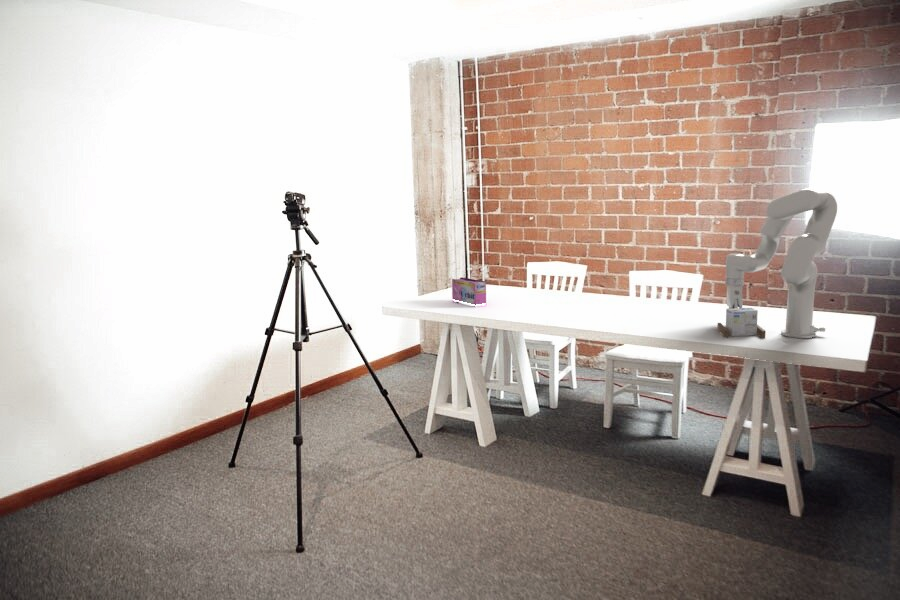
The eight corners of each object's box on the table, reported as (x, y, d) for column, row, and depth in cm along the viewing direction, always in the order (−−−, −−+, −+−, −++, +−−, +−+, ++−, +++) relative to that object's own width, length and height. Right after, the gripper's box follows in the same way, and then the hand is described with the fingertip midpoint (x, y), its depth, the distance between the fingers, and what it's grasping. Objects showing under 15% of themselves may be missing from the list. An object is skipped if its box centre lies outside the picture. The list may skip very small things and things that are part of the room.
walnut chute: (755, 329, 276) (755, 323, 275) (765, 338, 262) (765, 331, 261) (717, 329, 279) (717, 322, 278) (725, 337, 265) (725, 330, 264)
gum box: (450, 301, 367) (449, 278, 365) (461, 300, 372) (461, 276, 369) (475, 307, 348) (474, 282, 345) (487, 305, 352) (486, 281, 350)
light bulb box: (749, 331, 273) (750, 307, 271) (757, 335, 267) (758, 310, 265) (724, 332, 273) (725, 308, 271) (731, 336, 266) (733, 311, 264)
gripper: (747, 284, 273) (745, 326, 276) (739, 279, 287) (737, 319, 291) (729, 284, 274) (727, 326, 278) (721, 279, 289) (720, 319, 292)
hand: (732, 322), depth 284 cm, fingers closed
